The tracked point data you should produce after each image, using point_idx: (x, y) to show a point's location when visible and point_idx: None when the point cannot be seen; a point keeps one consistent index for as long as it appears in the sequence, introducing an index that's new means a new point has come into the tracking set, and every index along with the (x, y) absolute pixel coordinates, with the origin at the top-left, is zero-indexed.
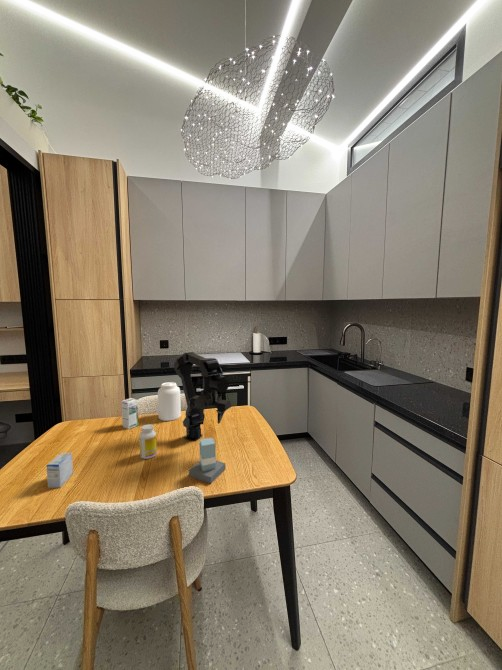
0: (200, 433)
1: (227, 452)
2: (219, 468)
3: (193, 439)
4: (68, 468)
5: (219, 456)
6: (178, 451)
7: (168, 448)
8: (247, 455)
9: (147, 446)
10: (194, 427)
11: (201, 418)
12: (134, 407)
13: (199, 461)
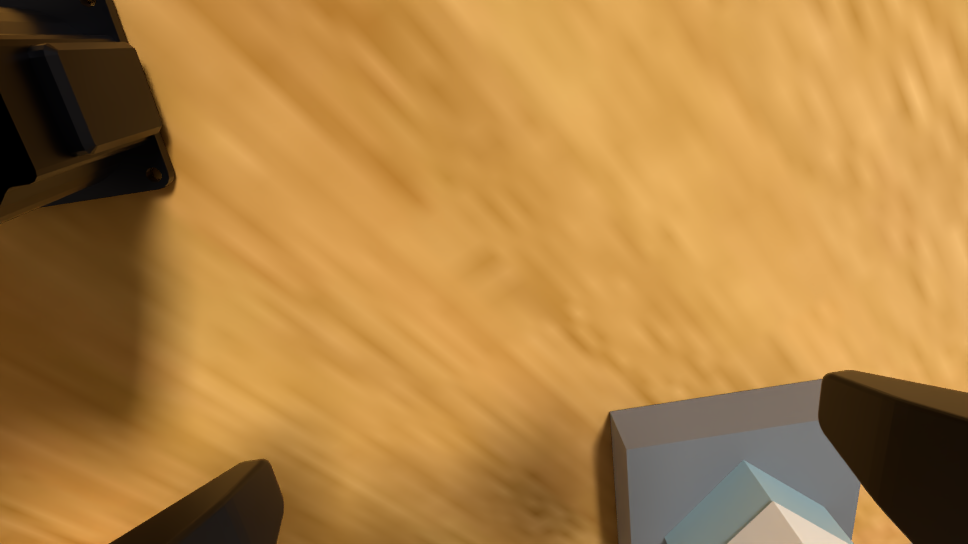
0: (113, 67)
1: (707, 144)
2: (856, 490)
3: (141, 181)
4: None
5: (671, 259)
6: (248, 423)
7: (114, 443)
8: (958, 57)
9: None
10: (8, 195)
11: (274, 534)
12: None
13: (632, 514)
